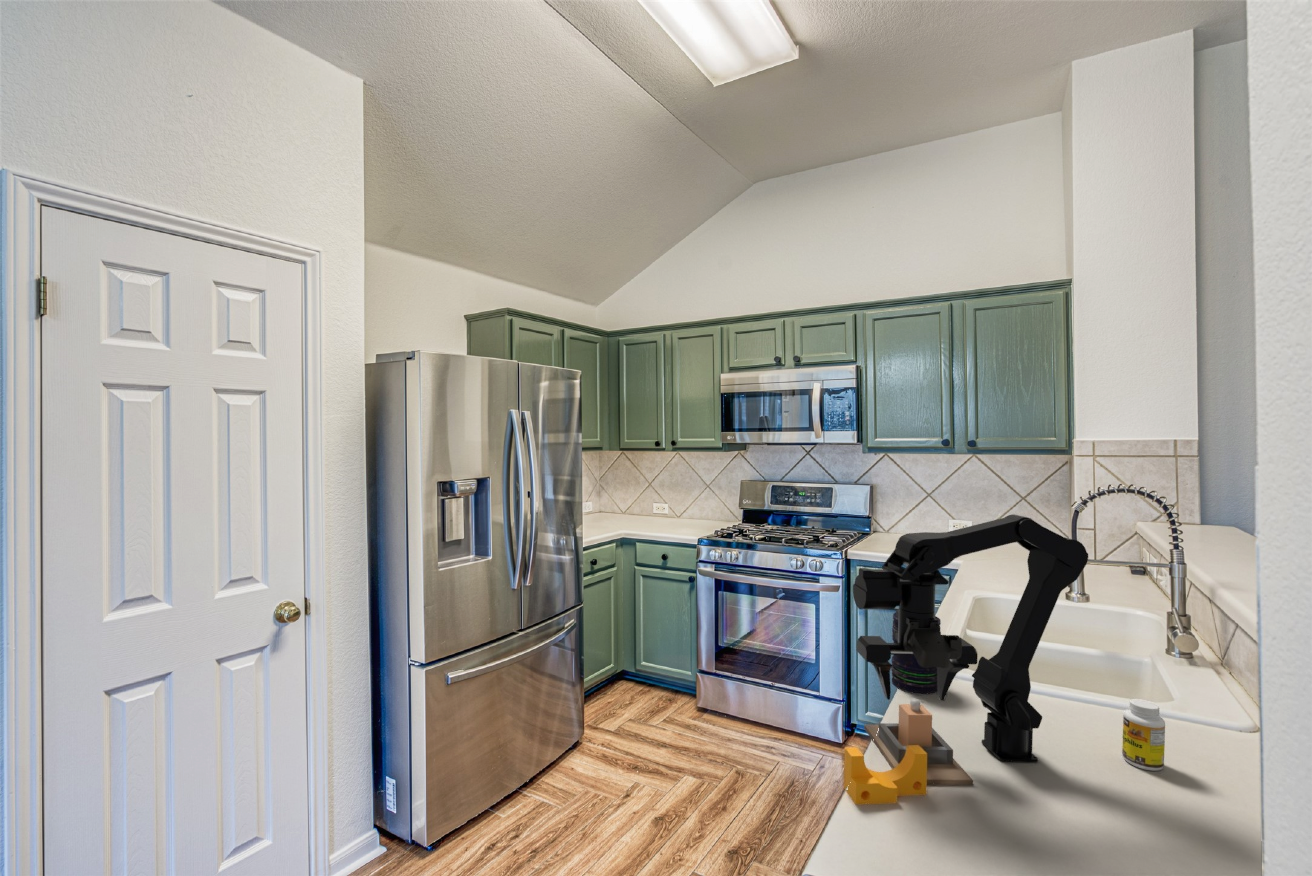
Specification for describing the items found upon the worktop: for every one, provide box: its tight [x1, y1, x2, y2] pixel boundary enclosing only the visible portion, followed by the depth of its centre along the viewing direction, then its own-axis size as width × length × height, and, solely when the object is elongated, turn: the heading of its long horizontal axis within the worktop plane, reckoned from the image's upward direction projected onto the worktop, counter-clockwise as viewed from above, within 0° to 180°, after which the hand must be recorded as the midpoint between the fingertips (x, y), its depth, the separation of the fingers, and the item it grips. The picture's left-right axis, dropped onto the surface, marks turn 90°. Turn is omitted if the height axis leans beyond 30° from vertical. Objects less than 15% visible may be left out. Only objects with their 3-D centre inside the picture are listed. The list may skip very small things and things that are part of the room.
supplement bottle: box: [1121, 698, 1166, 772], centre depth 104 cm, size 6×6×10 cm
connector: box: [898, 697, 933, 747], centre depth 106 cm, size 4×4×9 cm
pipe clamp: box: [843, 745, 928, 806], centre depth 95 cm, size 12×4×6 cm, turn 95°
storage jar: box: [890, 611, 942, 695], centre depth 135 cm, size 10×10×15 cm
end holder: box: [863, 722, 974, 786], centre depth 106 cm, size 11×18×3 cm, turn 0°
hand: (914, 699), depth 106 cm, fingers open, 9 cm apart
